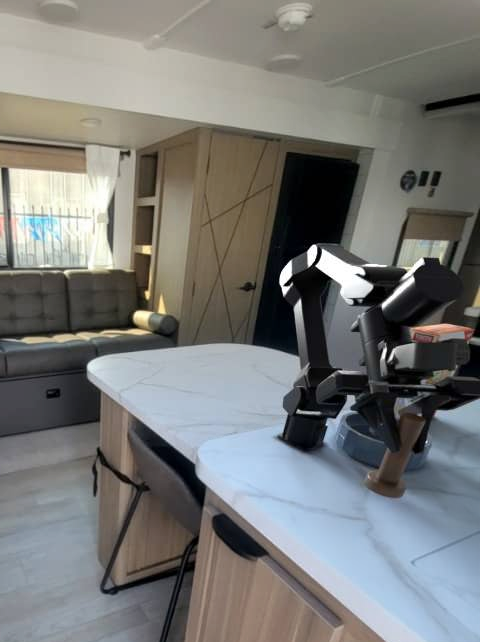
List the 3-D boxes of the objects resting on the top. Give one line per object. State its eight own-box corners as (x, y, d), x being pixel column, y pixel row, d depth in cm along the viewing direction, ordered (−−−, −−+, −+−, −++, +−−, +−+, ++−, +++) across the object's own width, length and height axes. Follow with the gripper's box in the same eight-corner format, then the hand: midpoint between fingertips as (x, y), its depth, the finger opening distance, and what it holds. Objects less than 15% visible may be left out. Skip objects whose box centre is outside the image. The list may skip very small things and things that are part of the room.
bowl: (319, 444, 80) (326, 421, 78) (356, 427, 88) (364, 406, 85) (400, 481, 69) (411, 456, 67) (435, 458, 77) (446, 435, 75)
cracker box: (402, 429, 87) (442, 334, 78) (374, 418, 92) (408, 327, 83) (436, 418, 93) (477, 328, 84) (408, 408, 98) (444, 321, 89)
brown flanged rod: (358, 484, 57) (385, 414, 52) (373, 475, 59) (401, 406, 54) (394, 502, 53) (426, 428, 48) (409, 491, 56) (442, 420, 51)
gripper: (352, 308, 50) (372, 430, 45) (509, 315, 49) (548, 439, 44) (308, 352, 60) (321, 454, 55) (437, 358, 60) (462, 462, 54)
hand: (407, 452), depth 52 cm, fingers closed on brown flanged rod, 2 cm apart
